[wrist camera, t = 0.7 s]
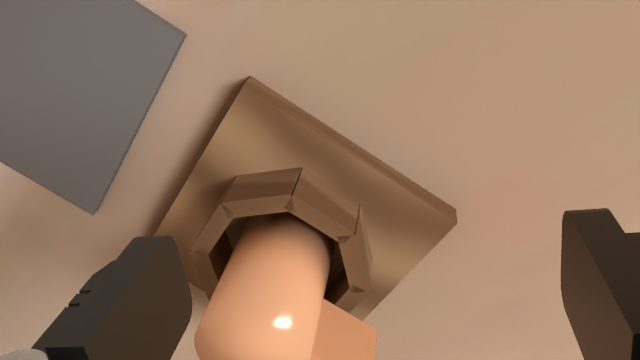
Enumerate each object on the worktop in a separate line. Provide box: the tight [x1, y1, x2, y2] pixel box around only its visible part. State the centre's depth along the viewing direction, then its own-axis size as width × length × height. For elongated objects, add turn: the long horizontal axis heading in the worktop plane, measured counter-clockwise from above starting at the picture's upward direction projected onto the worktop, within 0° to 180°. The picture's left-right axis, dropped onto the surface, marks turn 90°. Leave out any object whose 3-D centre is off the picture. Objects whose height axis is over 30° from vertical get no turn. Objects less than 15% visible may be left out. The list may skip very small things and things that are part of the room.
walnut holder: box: [154, 76, 457, 321], centre depth 34 cm, size 14×14×4 cm
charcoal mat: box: [0, 0, 187, 215], centre depth 33 cm, size 14×12×1 cm
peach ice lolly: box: [194, 212, 377, 360], centre depth 31 cm, size 9×6×9 cm, turn 58°
